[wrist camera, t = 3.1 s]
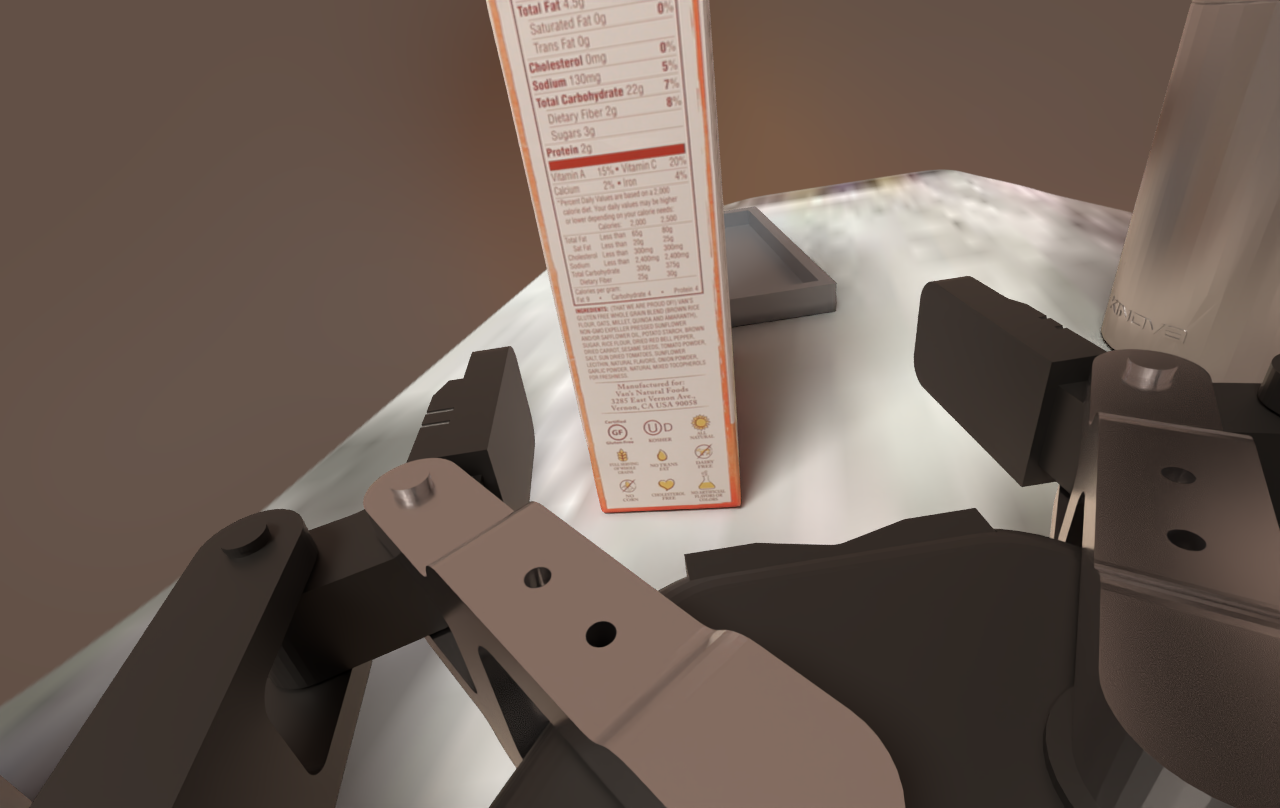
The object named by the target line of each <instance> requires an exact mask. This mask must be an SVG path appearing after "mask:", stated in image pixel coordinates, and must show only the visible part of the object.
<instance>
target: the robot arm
mask: <svg viewBox="0 0 1280 808" xmlns="http://www.w3.org/2000/svg"><path fill="white" fill-rule="evenodd" d="M1192 1H1193V3H1192V4H1191V6H1190V9H1189V13H1188V17H1187V20H1186V24H1185V27H1184V31H1183V34H1182V38H1181V42H1180V45H1179V49H1178V53H1177V56H1176V60H1175V63H1174V67H1173V71H1172V74H1171V78H1170V81H1169V85H1168V88H1167V92H1166V96H1165V99H1164V103H1163V106H1162V110H1161V114H1160V118H1159V121H1158V124H1157V128H1156V132H1155V135H1154V139H1153V143H1152V146H1151V150H1150V153H1149V157H1148V161H1147V164H1146V168H1145V171H1144V175H1143V179H1142V182H1141V186H1140V189H1139V193H1138V197H1137V200H1136V204H1135V208H1134V211H1133V215H1132V218H1131V222H1130V225H1129V229H1128V233H1127V236H1126V240H1125V243H1124V247H1123V251H1122V254H1121V257H1120V261H1119V265H1118V269H1117V272H1116V276H1115V280H1114V284H1113V287H1112V291H1111V295H1110V299H1109V302H1108V306H1107V310H1106V313H1105V317H1104V320H1103V324H1102V328H1101V332H1102V335H1103V338H1104V340H1105V341H1106V342H1107V343H1108V344H1109V345H1110V346H1111V347H1112V348H1113V349H1115V350H1113V351H1109V352H1107V351H1105V350H1103V349H1101V348H1100V347H1098V346H1096V345H1095V344H1093V343H1091V342H1090V341H1088V340H1086V339H1085V338H1083V337H1081V336H1080V335H1078V334H1076V333H1075V332H1073V331H1071V330H1069V329H1068V328H1063V325H1061V324H1059V323H1058V322H1056V321H1054V320H1053V319H1051V318H1048V319H1047V317H1046V315H1044V314H1042V313H1041V312H1039V311H1037V310H1036V309H1034V308H1032V307H1031V306H1029V305H1027V304H1024V303H1021V302H1018V301H1014V300H1011V299H1008V298H1006V297H1004V296H1003V295H1001V294H999V293H998V292H996V291H994V290H993V289H991V288H989V287H988V286H986V285H984V284H983V283H981V282H979V281H978V280H976V279H975V278H973V277H971V276H965V277H958V278H952V279H945V280H939V281H933V282H928V283H927V284H926V285H925V286H924V288H923V290H922V293H921V298H920V306H919V315H918V324H917V333H916V342H915V351H914V367H915V372H916V375H917V378H918V380H919V382H920V384H921V385H922V387H923V388H924V389H925V390H926V391H927V392H928V393H929V394H930V395H931V396H932V397H933V398H934V399H935V400H936V401H937V402H938V403H939V404H940V405H941V406H942V407H943V408H944V409H945V410H946V411H947V412H948V413H949V414H950V415H951V416H952V417H953V418H954V419H955V420H956V421H957V422H958V423H959V424H960V425H961V426H962V427H963V428H964V429H965V430H966V431H967V432H968V433H969V434H970V435H971V436H972V437H973V438H974V439H975V440H976V441H977V442H978V443H979V444H980V445H981V446H982V447H983V448H984V449H985V450H986V451H987V452H988V453H989V454H990V455H991V456H992V457H993V458H994V459H995V460H996V461H997V462H998V464H999V465H1000V466H1001V467H1002V468H1003V469H1004V470H1005V471H1006V472H1007V473H1008V474H1009V475H1010V476H1011V477H1012V478H1013V479H1014V480H1015V481H1016V482H1017V483H1018V484H1019V485H1020V486H1021V487H1025V486H1031V485H1037V484H1044V483H1050V482H1058V483H1059V486H1058V489H1057V493H1056V496H1055V500H1054V504H1053V513H1052V522H1051V531H1050V538H1049V537H1045V536H1042V535H1037V534H1032V533H1026V532H1021V531H1013V530H1003V529H993V528H992V527H991V526H990V525H989V523H988V522H987V521H986V520H985V519H984V517H983V516H982V515H981V514H980V513H979V512H978V510H977V509H976V508H972V509H966V510H960V511H954V512H947V513H941V514H935V515H929V516H922V517H916V518H910V519H904V520H901V521H899V522H896V523H894V524H891V525H888V526H886V527H883V528H881V529H878V530H876V531H873V532H870V533H868V534H865V535H863V536H860V537H858V538H855V539H852V540H850V541H847V542H845V543H841V544H837V545H809V544H774V543H753V544H747V545H740V546H734V547H728V548H722V549H715V550H709V551H703V552H697V553H690V554H684V556H685V564H686V572H687V577H685V578H683V579H680V580H678V581H676V582H674V583H672V584H670V585H668V586H666V587H664V588H662V589H660V590H659V591H657V590H656V589H654V588H653V587H651V586H650V585H649V584H647V583H646V582H645V581H643V580H642V579H641V578H639V577H638V576H637V575H635V574H634V573H633V572H631V571H630V570H629V569H627V568H626V567H625V566H623V565H622V564H621V563H619V562H618V561H617V560H615V559H614V558H613V557H611V556H610V555H609V554H607V553H606V552H604V551H603V550H602V549H600V548H599V547H598V546H596V545H595V544H594V543H592V542H591V541H590V540H588V539H587V538H586V537H584V536H583V535H582V534H580V533H579V532H578V531H576V530H575V529H574V528H572V527H571V526H570V525H568V524H567V523H566V522H564V521H563V520H562V519H560V518H559V517H557V516H556V515H555V514H553V513H552V512H551V511H549V510H548V509H547V508H545V507H544V506H543V505H541V504H539V503H537V502H533V501H531V502H529V500H530V490H531V479H532V469H533V459H534V449H535V437H534V428H533V422H532V417H531V413H530V409H529V405H528V401H527V397H526V393H525V389H524V386H523V382H522V378H521V374H520V370H519V366H518V362H517V359H516V355H515V353H514V350H513V348H512V347H511V346H508V347H502V348H495V349H489V350H482V351H476V352H472V354H471V357H470V360H469V363H468V366H467V369H466V372H465V375H464V378H463V379H457V380H450V381H448V382H447V383H446V384H445V385H444V386H443V387H442V388H441V389H440V390H439V391H438V392H437V393H436V394H435V395H433V397H432V400H431V402H430V405H429V407H428V410H427V415H425V417H424V420H423V422H422V428H420V430H419V433H418V435H417V438H416V440H415V443H414V445H413V448H412V450H411V453H410V455H409V458H408V460H407V463H405V464H403V465H400V466H398V467H396V468H394V469H392V470H390V471H388V472H387V473H385V474H384V475H382V476H381V477H380V478H378V479H377V480H376V481H375V482H374V483H373V484H372V485H371V486H370V487H369V489H368V490H367V492H366V494H365V496H364V501H363V504H364V508H365V509H364V510H362V511H360V512H358V513H356V514H353V515H351V516H348V517H345V518H343V519H340V520H337V521H334V522H331V523H329V524H326V525H323V526H320V527H317V528H315V529H312V530H308V528H307V527H306V525H305V523H304V521H303V519H302V518H301V516H300V515H299V514H298V513H296V512H294V511H291V510H286V509H274V510H267V511H263V512H259V513H256V514H253V515H250V516H247V517H245V518H242V519H240V520H238V521H236V522H234V523H232V524H231V525H229V526H227V527H225V528H224V529H222V530H221V531H219V532H218V533H216V534H215V535H214V536H212V537H211V538H210V539H209V540H208V541H207V542H206V543H205V544H204V545H203V546H202V547H201V548H200V549H199V550H198V552H197V553H196V554H195V556H194V557H193V559H192V560H191V562H190V563H189V565H188V567H187V568H186V570H185V571H184V573H183V574H182V576H181V577H180V579H179V580H178V582H177V583H176V585H175V586H174V588H173V589H172V591H171V592H170V594H169V595H168V597H167V598H166V600H165V602H164V603H163V605H162V606H161V608H160V609H159V611H158V612H157V614H156V615H155V617H154V618H153V620H152V621H151V623H150V624H149V626H148V627H147V629H146V630H145V632H144V634H143V635H142V637H141V638H140V640H139V641H138V643H137V644H136V646H135V647H134V649H133V650H132V652H131V653H130V655H129V656H128V658H127V659H126V661H125V662H124V664H123V666H122V667H121V669H120V670H119V672H118V673H117V675H116V676H115V678H114V679H113V681H112V682H111V684H110V685H109V687H108V688H107V690H106V691H105V693H104V694H103V696H102V698H101V699H100V701H99V702H98V704H97V705H96V707H95V708H94V710H93V711H92V713H91V714H90V716H89V717H88V719H87V720H86V722H85V723H84V725H83V726H82V728H81V730H80V731H79V733H78V734H77V736H76V737H75V739H74V740H73V742H72V743H71V745H70V746H69V748H68V749H67V751H66V752H65V754H64V755H63V757H62V758H61V760H60V762H59V763H58V765H57V766H56V768H55V769H54V771H53V772H52V774H51V775H50V777H49V778H48V780H47V781H46V783H45V784H44V786H43V787H42V789H41V790H40V792H39V794H38V795H37V797H36V798H35V800H34V801H33V803H32V804H31V806H30V807H29V808H335V805H336V801H337V797H338V793H339V789H340V786H341V782H342V778H343V774H344V770H345V766H346V762H347V758H348V754H349V750H350V747H351V743H352V739H353V735H354V731H355V727H356V723H357V719H358V715H359V712H360V708H361V704H362V700H363V696H364V692H365V688H366V684H367V680H368V676H369V673H370V669H371V665H372V660H373V659H375V658H377V657H380V656H382V655H384V654H387V653H389V652H391V651H394V650H396V649H398V648H401V647H403V646H405V645H408V644H410V643H412V642H415V641H417V640H419V639H421V638H424V637H425V639H426V641H427V642H428V644H429V645H430V646H431V647H432V649H433V650H434V651H435V653H436V654H437V655H438V657H439V658H440V659H441V660H442V662H443V663H444V664H445V666H446V667H447V668H448V669H449V671H450V672H451V673H452V675H453V676H454V677H455V679H456V680H457V681H458V682H459V684H460V685H461V686H462V688H463V689H464V690H465V692H466V693H467V694H468V695H469V697H470V698H471V699H472V701H473V702H474V703H475V704H476V706H477V707H478V708H479V710H480V711H481V712H482V714H483V715H484V717H485V718H486V720H487V721H488V723H489V724H490V726H491V728H492V729H493V731H494V733H495V735H496V736H497V738H498V740H499V742H500V743H501V745H502V747H503V748H504V750H505V752H506V753H507V755H508V756H509V758H510V759H511V761H512V762H513V764H514V765H515V767H516V768H517V769H516V770H515V771H514V773H513V774H512V776H511V777H510V779H509V780H508V781H507V783H506V784H505V786H504V787H503V788H502V790H501V791H500V793H499V794H498V795H497V797H496V798H495V800H494V801H493V802H492V804H491V805H490V807H489V808H1280V0H1192Z"/></svg>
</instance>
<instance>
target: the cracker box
mask: <svg viewBox="0 0 1280 808" xmlns="http://www.w3.org/2000/svg"><path fill="white" fill-rule="evenodd" d="M486 3H487V7H488V12H489V16H490V20H491V24H492V29H493V33H494V37H495V42H496V46H497V50H498V54H499V59H500V63H501V67H502V71H503V75H504V79H505V84H506V88H507V93H508V96H509V101H510V105H511V110H512V115H513V119H514V124H515V128H516V133H517V137H518V141H519V145H520V150H521V154H522V159H523V164H524V168H525V172H526V176H527V181H528V185H529V190H530V194H531V199H532V203H533V208H534V212H535V217H536V221H537V226H538V230H539V234H540V239H541V244H542V248H543V253H544V257H545V262H546V266H547V271H548V275H549V280H550V284H551V289H552V293H553V297H554V302H555V306H556V311H557V315H558V320H559V324H560V329H561V333H562V337H563V342H564V346H565V351H566V355H567V359H568V364H569V368H570V373H571V377H572V381H573V386H574V390H575V395H576V399H577V404H578V408H579V413H580V417H581V421H582V426H583V430H584V434H585V438H586V442H587V446H588V450H589V453H590V458H591V464H592V469H593V474H594V479H595V483H596V488H597V493H598V497H599V501H600V506H601V509H602V511H603V512H604V513H612V512H628V511H652V510H672V509H698V508H721V507H737V506H740V505H741V490H740V470H739V449H738V429H737V412H736V395H735V378H734V361H733V346H732V331H731V316H730V301H729V287H728V272H727V257H726V242H725V226H724V211H723V198H722V181H721V166H720V153H719V152H720V151H719V136H718V121H717V108H716V94H715V79H714V64H713V52H712V36H711V22H710V10H709V9H710V8H709V0H486Z"/></svg>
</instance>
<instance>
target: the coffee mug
mask: <svg viewBox="0 0 1280 808" xmlns="http://www.w3.org/2000/svg"><path fill="white" fill-rule="evenodd" d="M32 803H33V802H32V801H31V800H29V799H28V798H27V797H26V796H25V795H23V794H22V793H21V792H20V791H19V790H17V789H16V788H15V787H14V786H13V785H11V784H10V783H9V782H8V781H7V780H5V779H4V778H3V777H2V776H1V775H0V808H29V807H30V806H31V804H32Z"/></svg>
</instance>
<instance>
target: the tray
mask: <svg viewBox="0 0 1280 808" xmlns="http://www.w3.org/2000/svg"><path fill="white" fill-rule="evenodd" d="M724 226H725V242H726V257H727V272H728V287H729V301H730V316H731V327H735V326H742V325H748V324H755V323H761V322H768V321H774V320H781V319H787V318H794V317H800V316H807V315H813V314H819V313H826V312H832V311H835V309H836V282H835V281H834V280H833V279H832V278H831V277H829V276H828V275H827V274H826V273H825V272H824V271H823V270H822V269H821V268H820V267H819V266H818V265H817V264H816V263H815V262H814V261H812V260H811V259H810V258H809V257H808V256H807V255H806V254H805V253H804V252H803V251H802V250H801V249H800V248H799V247H798V246H797V245H796V244H794V243H793V242H792V241H791V240H790V239H789V238H788V237H787V236H786V235H785V234H784V233H783V232H782V231H781V230H780V229H779V228H778V227H776V226H775V225H774V224H773V223H772V222H771V221H770V220H769V219H768V218H767V217H766V216H765V215H764V214H763V213H762V212H761V211H760V210H758V209H757V208H756V207H749V208H742V209H736V210H729V211H724Z"/></svg>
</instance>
